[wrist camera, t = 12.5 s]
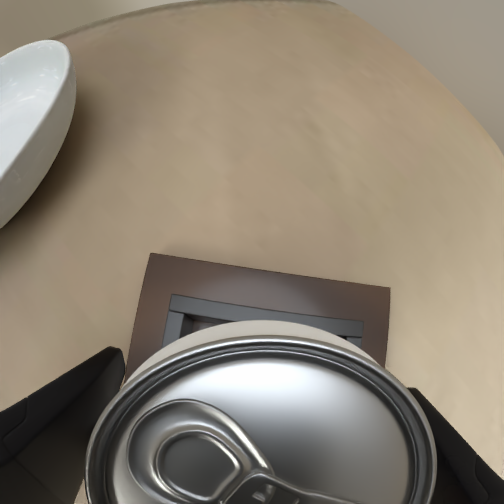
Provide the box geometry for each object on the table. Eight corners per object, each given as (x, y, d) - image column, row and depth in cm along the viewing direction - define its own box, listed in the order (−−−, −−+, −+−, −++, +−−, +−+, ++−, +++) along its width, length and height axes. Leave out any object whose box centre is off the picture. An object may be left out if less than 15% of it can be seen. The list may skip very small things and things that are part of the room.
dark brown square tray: (349, 507, 13) (368, 531, 10) (119, 475, 13) (95, 494, 10) (384, 291, 17) (410, 276, 14) (155, 257, 18) (136, 235, 15)
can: (237, 318, 16) (211, 217, 5) (338, 384, 15) (508, 415, 3) (166, 413, 14) (17, 495, 3) (268, 478, 13) (300, 643, 2)
